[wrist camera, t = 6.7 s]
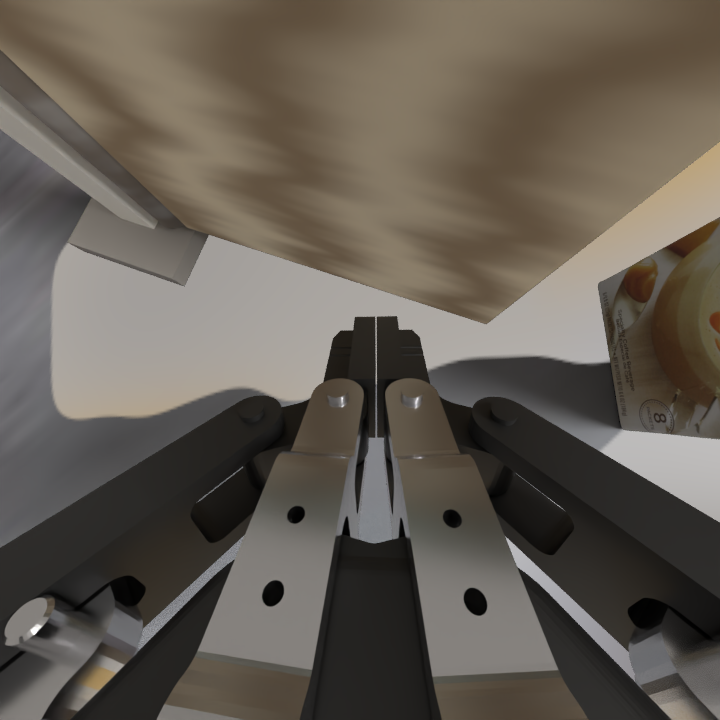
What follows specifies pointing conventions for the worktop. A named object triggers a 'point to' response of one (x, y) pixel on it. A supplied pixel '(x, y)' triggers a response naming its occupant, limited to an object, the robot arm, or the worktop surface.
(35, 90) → the gate
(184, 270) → the gate post
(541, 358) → the worktop surface
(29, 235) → the worktop surface
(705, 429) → the coffee box
